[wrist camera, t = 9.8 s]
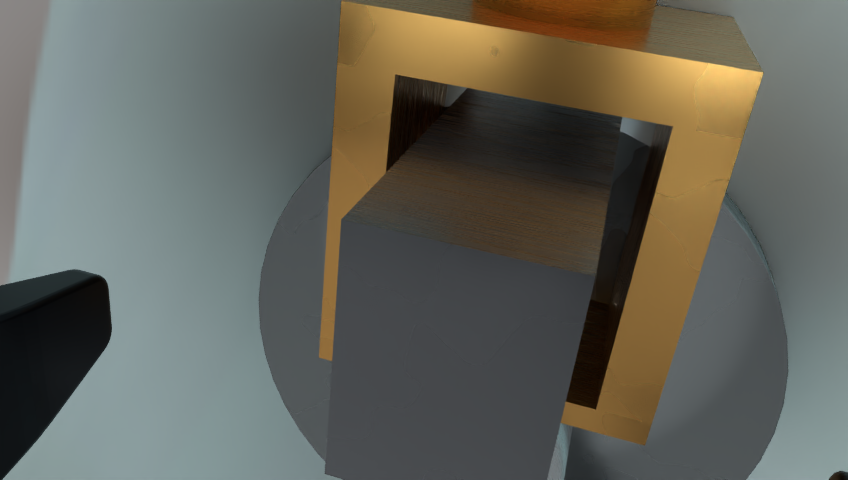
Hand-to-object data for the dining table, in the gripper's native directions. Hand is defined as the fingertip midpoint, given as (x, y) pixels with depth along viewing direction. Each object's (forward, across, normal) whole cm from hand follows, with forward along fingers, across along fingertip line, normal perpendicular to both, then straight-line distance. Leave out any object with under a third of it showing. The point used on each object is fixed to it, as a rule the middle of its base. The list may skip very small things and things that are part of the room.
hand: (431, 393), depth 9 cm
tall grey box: (+8, 0, 0) cm, 8 cm away
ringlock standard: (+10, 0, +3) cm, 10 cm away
